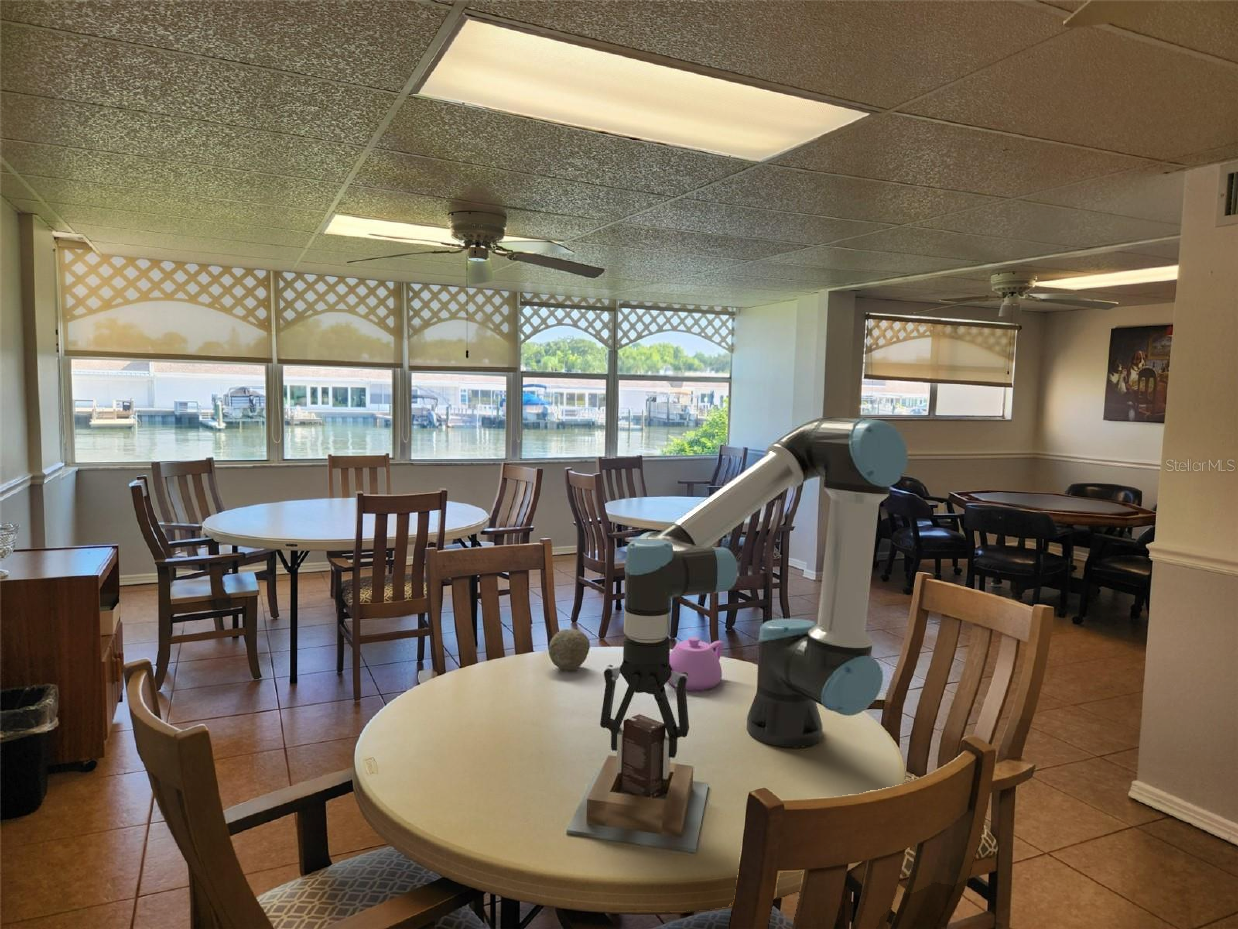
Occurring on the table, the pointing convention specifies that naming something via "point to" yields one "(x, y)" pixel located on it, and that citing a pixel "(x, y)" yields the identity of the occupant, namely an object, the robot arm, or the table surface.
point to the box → (643, 756)
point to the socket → (642, 810)
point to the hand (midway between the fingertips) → (643, 771)
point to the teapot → (697, 663)
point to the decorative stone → (569, 649)
